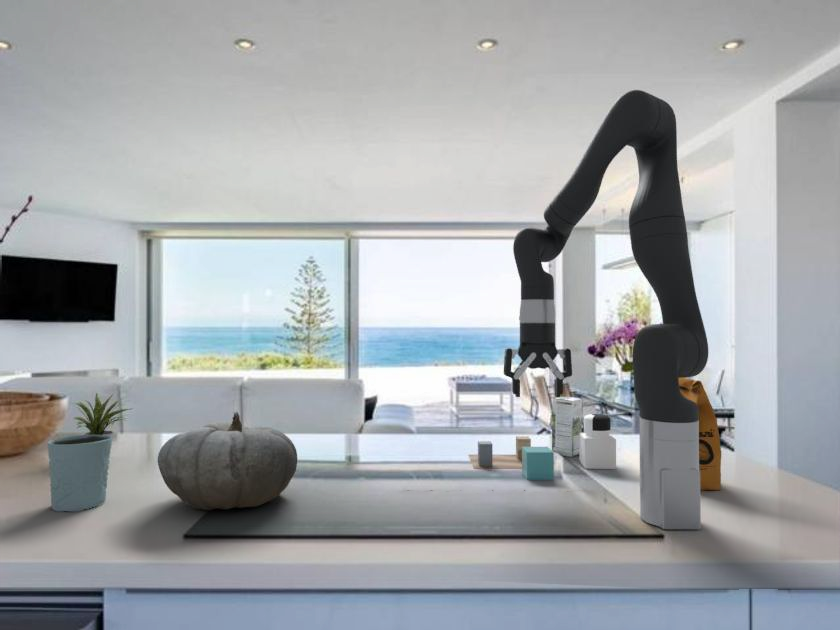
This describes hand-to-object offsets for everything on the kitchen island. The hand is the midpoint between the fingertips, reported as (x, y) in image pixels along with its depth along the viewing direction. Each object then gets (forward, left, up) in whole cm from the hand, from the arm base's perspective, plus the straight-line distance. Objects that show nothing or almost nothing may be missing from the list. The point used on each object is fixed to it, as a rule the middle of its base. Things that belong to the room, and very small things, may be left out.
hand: (537, 396), depth 120 cm
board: (+13, +5, -18) cm, 23 cm away
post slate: (+10, +10, -17) cm, 22 cm away
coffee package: (-2, -32, -18) cm, 37 cm away
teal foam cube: (0, 0, -18) cm, 18 cm away
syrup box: (+25, -13, -18) cm, 33 cm away
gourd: (-14, +61, -18) cm, 65 cm away
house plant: (+19, +105, -18) cm, 108 cm away
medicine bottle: (+13, -17, -18) cm, 28 cm away
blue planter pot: (-16, +88, -18) cm, 91 cm away
